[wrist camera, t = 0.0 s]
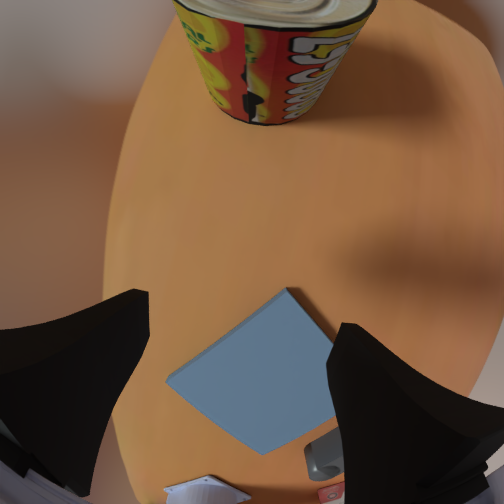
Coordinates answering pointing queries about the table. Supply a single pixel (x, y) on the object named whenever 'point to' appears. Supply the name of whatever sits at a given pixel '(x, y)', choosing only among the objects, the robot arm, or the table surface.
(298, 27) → the beverage can
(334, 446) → the dark grey rounded block
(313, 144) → the table surface
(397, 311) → the table surface
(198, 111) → the table surface
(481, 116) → the table surface
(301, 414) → the blue-grey mat
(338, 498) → the ink cartridge box
